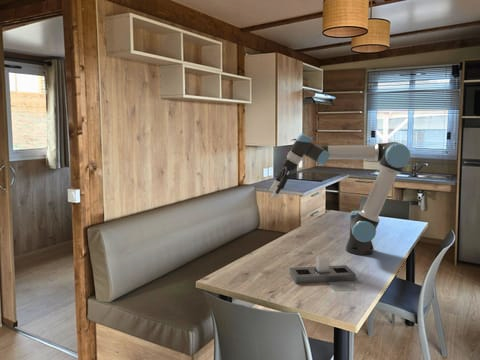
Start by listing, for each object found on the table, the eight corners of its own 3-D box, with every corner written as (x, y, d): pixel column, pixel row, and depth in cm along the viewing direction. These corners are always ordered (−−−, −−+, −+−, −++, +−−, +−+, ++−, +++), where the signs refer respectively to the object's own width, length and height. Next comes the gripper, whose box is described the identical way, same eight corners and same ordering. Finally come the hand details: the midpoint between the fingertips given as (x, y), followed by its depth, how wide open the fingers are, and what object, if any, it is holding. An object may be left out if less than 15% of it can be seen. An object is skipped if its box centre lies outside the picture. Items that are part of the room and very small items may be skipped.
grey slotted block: (345, 273, 202) (346, 265, 201) (355, 282, 190) (355, 274, 189) (289, 275, 198) (289, 267, 198) (295, 285, 187) (295, 277, 186)
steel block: (325, 275, 196) (325, 254, 195) (328, 278, 192) (328, 258, 190) (315, 275, 196) (316, 255, 194) (318, 279, 191) (319, 258, 190)
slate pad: (349, 283, 189) (349, 281, 189) (357, 292, 180) (357, 290, 179) (327, 284, 188) (328, 282, 188) (335, 293, 178) (335, 291, 178)
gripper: (283, 153, 233) (265, 185, 238) (288, 162, 209) (267, 197, 214) (295, 159, 234) (276, 191, 239) (301, 169, 210) (280, 204, 215)
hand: (272, 194), depth 226 cm, fingers open, 13 cm apart
